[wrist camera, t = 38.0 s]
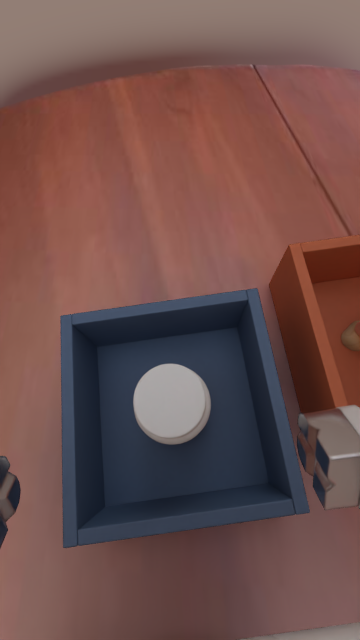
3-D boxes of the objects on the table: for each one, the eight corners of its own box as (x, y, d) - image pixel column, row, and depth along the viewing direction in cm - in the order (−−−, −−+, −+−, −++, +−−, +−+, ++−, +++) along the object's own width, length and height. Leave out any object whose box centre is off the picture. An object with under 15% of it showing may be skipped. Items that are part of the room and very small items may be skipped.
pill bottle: (219, 404, 25) (231, 392, 18) (181, 455, 24) (175, 466, 16) (173, 367, 27) (164, 339, 19) (135, 414, 25) (107, 406, 18)
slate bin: (243, 319, 28) (257, 287, 22) (280, 491, 24) (310, 513, 18) (89, 341, 28) (60, 315, 22) (97, 518, 24) (62, 548, 18)
